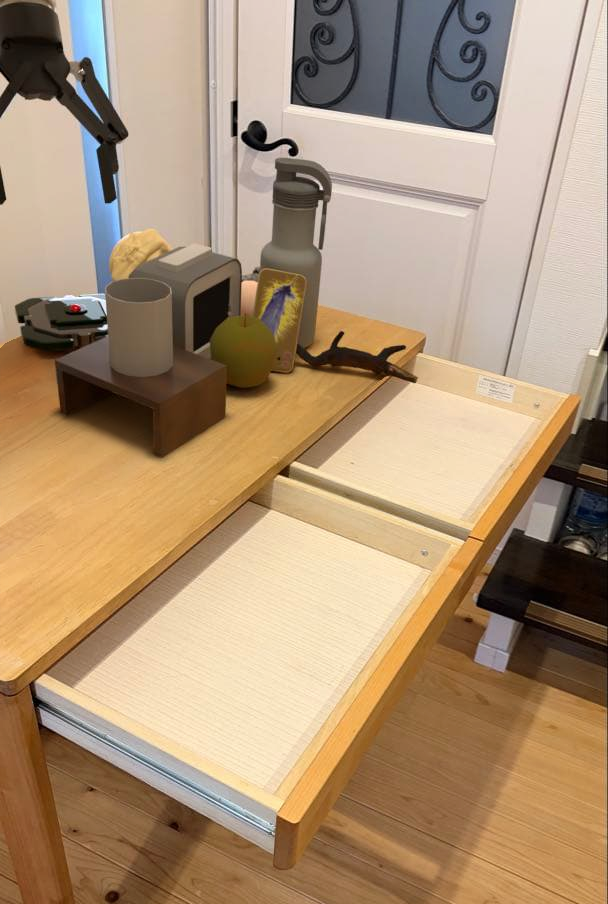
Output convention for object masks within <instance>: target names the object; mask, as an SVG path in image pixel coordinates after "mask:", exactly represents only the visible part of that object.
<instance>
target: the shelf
mask: <svg viewBox="0 0 608 904" xmlns="http://www.w3.org/2000/svg"><path fill="white" fill-rule="evenodd" d="M54 368H55V374H56V385H57V392H58V402H59V409H60V410H59V412H60V414H62V415H64V416H70V415H72V414H73V413H76V412H77V411H79V410H81V409H83V408H85V407H87V406H89V405H91V404H92V403H94V402H96V401H99V400H100V399H102V398H104V397H106V396H108V395H110V394H112V393H114V394H116V395H119V396H121V397H124V398H126V399H129V400H131V401H133V402H136V403H137V404H141V405H143V406H146V407H147V408H148V407H149V408H150V409H152V424H153V425H152V426H153V445H154V446H153V451H154V454H153V455H154V456H156V457H159V458H163V457H165V456H166V455H168V454H169V453H171V452H173V451H175V450H176V449H177V448H178V447H180V446H182V445H183V444H185V443H187V442H188V441H189V440H191V439H194V438H195V437H197V436H198V435H199V434H201V433H202V432H204V431H206V430H207V429H209V428H210V427H212V426H214V425H215V424H217V423H218V422H220V421H222V420H223V419H224V418H226V410H227V409H226V407H227V383H226V373H227V366H226V365H224V364H221V363H219V362H216V361H213V360H211V359H208V358H205V357H203V356H200V355H197V354H195V353H192V352H189V351H187V350H184V349H181V348H179V347H176V346H173V366H172V367H171V368H170V369H169V370H168V371H167V372H164V373H162V374H159V375H156V376H148V377H136V376H128V375H125V374H122V373H119V372H116V371H115V370H114V369H113V368H112V367H111V366H110V354H109V340H108V337H105V338H103V339H101V340H99V341H96V342H94V343H92V344H90V345H88V346H85V347H83V348H79V349H76V350H74V351H72V352H69V353H68V354H65V355H62V357H61V356H60V357H59V358H56V359H55V360H54Z"/></svg>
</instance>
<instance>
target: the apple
mask: <svg viewBox="0 0 608 904" xmlns="http://www.w3.org/2000/svg"><path fill="white" fill-rule="evenodd" d="M210 351H211V360H213V361H216V362H219V363H221V364H224V365H226V366H227V373H226V384H228V385H230V386H233V387H237V388H244V389H245V388H252V387H257V386H259V385H261V384H263V383H264V382H265V381H266V380H267V379H268V377H269V375H270V374H271V372H272V371H271V370H272V369H273V367H274V365H275V361H276V356H277V352H278V348H277V344H276V341H275V338H274V335H273V333H272V331H271V330H270V329H269V328H268V327H267V326H266V325H265V324H264V323H263V321H261V320H260V319H258V318H256V317H250V316H246V314H245V316H241V315H240V316H231V317H228V318H227V319H226V320H225V321H223V322H222V323H221V324H220V325H219V326H218V327H217V328H216V329H215V331H214V333H213V335H212V337H211V339H210Z"/></svg>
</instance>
